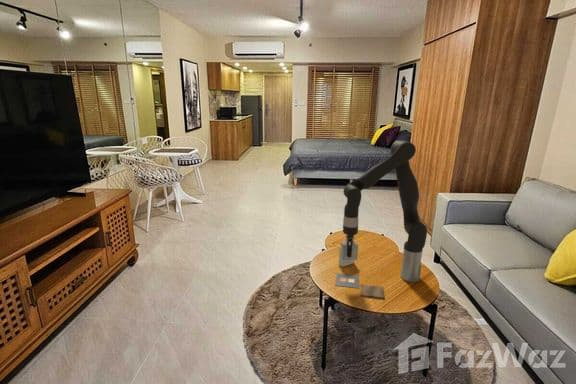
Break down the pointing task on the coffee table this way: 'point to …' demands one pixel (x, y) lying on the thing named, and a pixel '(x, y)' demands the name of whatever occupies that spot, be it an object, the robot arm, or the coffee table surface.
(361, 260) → the coffee table surface
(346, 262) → the photo printer
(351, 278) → the tile
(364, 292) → the walnut mat
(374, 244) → the coffee table surface
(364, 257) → the coffee table surface
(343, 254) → the medicine box
